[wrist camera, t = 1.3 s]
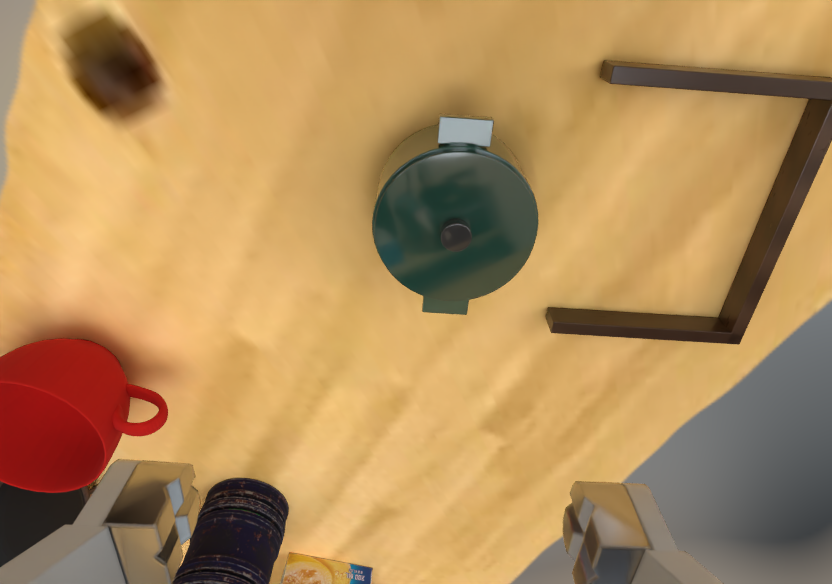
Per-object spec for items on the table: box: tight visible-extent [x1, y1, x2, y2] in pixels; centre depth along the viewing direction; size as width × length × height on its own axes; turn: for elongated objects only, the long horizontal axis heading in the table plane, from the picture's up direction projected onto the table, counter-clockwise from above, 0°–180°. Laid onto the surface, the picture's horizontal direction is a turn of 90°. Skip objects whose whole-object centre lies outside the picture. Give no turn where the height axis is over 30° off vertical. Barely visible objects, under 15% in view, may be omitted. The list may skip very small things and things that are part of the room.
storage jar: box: [172, 478, 289, 584], centre depth 59 cm, size 10×10×15 cm
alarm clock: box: [0, 481, 97, 567], centre depth 53 cm, size 14×7×20 cm, turn 17°
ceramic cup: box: [0, 339, 168, 493], centre depth 50 cm, size 13×17×10 cm
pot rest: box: [546, 60, 832, 344], centre depth 45 cm, size 22×17×2 cm
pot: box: [372, 114, 538, 315], centre depth 42 cm, size 15×12×8 cm
